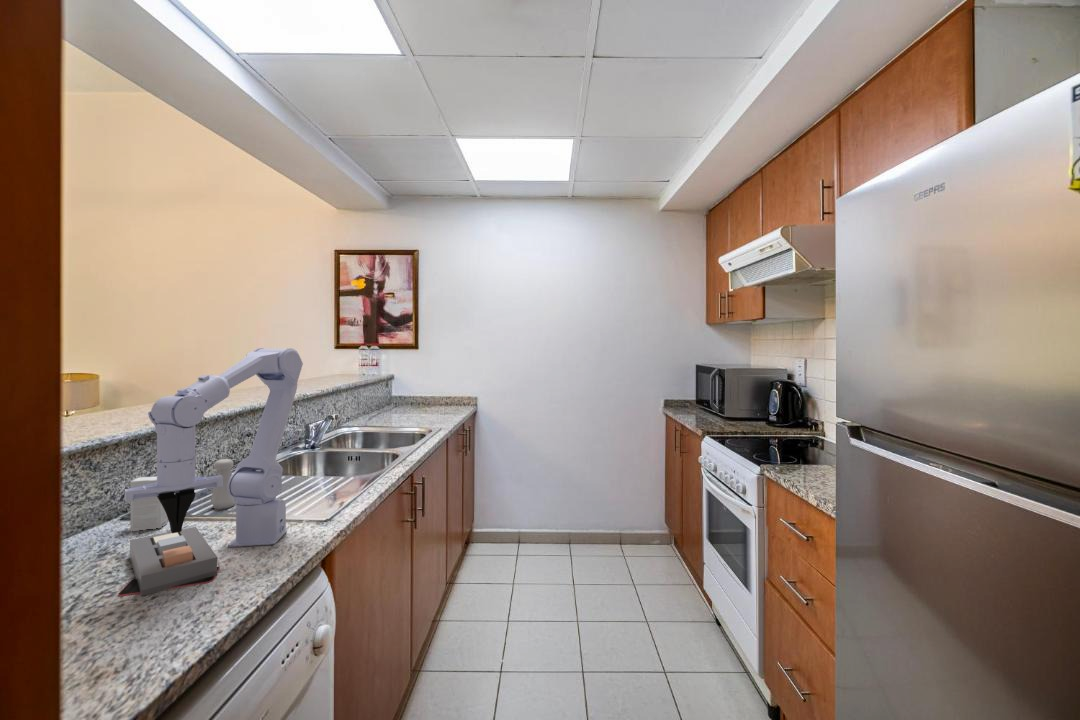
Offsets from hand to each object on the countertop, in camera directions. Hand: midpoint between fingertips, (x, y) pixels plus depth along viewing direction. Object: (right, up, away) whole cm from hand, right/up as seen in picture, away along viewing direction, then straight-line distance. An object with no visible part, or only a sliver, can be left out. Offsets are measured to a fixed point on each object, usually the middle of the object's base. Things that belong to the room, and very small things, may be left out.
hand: (176, 531), depth 88 cm
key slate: (-4, -6, +4) cm, 8 cm away
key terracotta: (+1, -6, -1) cm, 6 cm away
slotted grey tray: (-4, -8, +4) cm, 10 cm away
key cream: (-9, -7, +9) cm, 15 cm away
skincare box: (-25, -8, +24) cm, 36 cm away
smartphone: (+1, -9, -2) cm, 9 cm away
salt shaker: (-18, -8, +40) cm, 45 cm away
